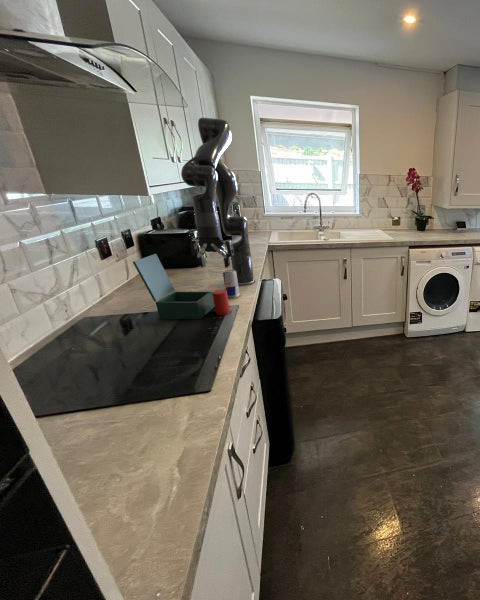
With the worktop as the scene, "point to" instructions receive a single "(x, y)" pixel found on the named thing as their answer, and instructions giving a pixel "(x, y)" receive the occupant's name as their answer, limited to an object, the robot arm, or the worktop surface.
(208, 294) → the box
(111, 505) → the worktop surface
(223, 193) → the robot arm
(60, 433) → the worktop surface
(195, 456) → the worktop surface
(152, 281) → the lid
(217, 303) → the tin
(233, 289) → the energy drink
